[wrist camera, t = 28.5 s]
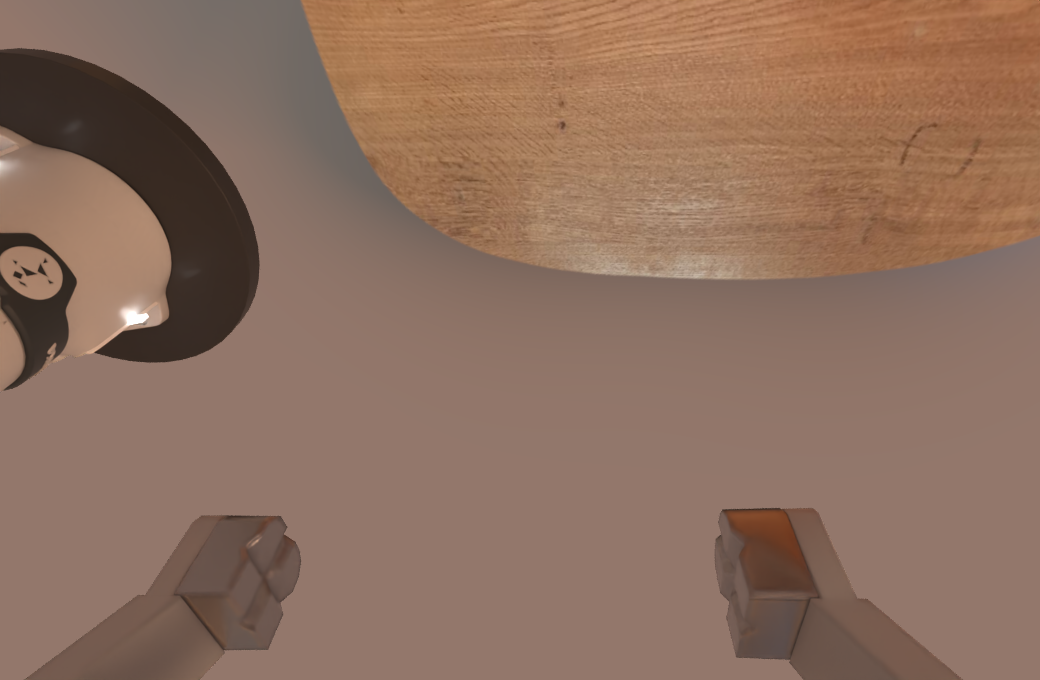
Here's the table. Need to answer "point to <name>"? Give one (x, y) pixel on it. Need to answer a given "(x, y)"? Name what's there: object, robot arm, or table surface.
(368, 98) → the table surface
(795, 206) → the table surface
